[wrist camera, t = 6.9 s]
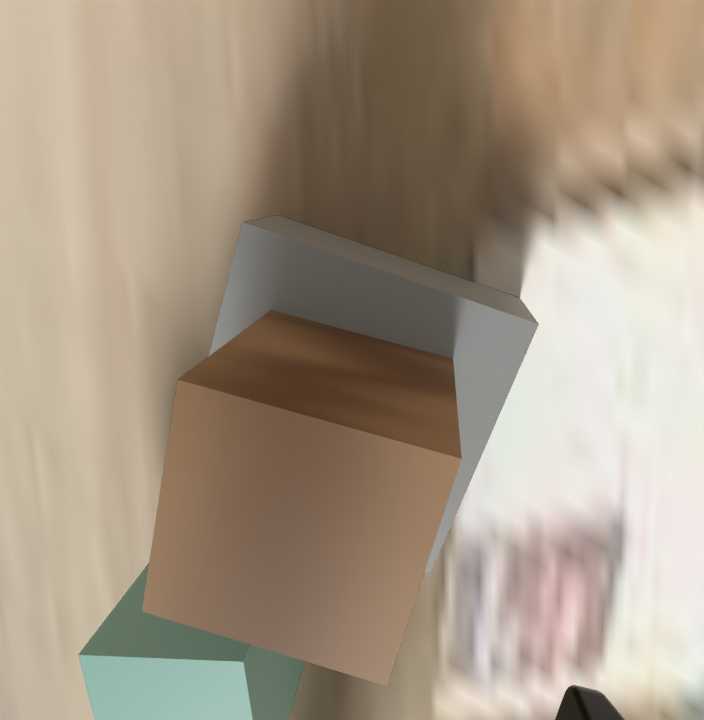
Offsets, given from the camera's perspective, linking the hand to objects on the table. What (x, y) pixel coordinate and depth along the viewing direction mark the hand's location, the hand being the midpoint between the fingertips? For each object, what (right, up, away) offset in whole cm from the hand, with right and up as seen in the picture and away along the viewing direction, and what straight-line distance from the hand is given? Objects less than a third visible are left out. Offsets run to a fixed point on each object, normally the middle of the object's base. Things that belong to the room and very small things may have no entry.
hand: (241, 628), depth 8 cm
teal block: (-3, -5, +15) cm, 16 cm away
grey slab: (+2, +4, +12) cm, 13 cm away
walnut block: (+1, +2, +8) cm, 9 cm away
